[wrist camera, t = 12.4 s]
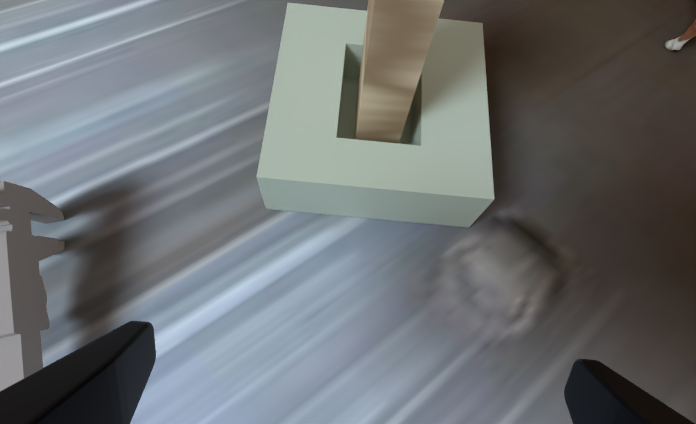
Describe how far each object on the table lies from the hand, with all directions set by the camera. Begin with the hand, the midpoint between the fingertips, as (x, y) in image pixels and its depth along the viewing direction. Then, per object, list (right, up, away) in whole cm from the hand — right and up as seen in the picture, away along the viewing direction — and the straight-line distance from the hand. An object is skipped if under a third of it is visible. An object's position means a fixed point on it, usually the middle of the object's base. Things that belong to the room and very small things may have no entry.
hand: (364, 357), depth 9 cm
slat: (+1, +9, +17) cm, 20 cm away
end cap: (+1, +8, +18) cm, 20 cm away
